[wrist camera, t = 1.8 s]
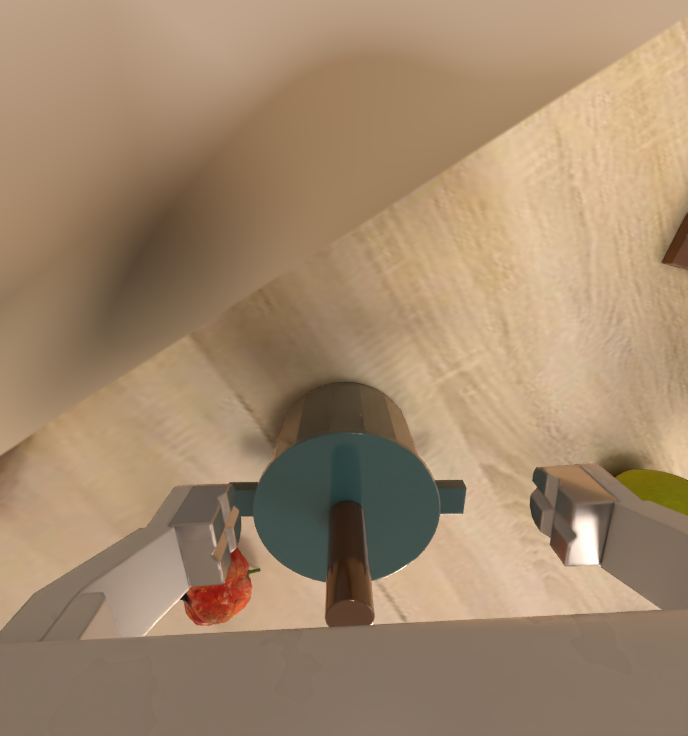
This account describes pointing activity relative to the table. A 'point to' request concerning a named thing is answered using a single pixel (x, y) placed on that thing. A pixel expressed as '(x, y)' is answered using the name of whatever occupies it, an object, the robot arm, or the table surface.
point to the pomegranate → (221, 595)
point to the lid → (346, 514)
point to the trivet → (679, 248)
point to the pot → (352, 411)
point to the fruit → (657, 488)
